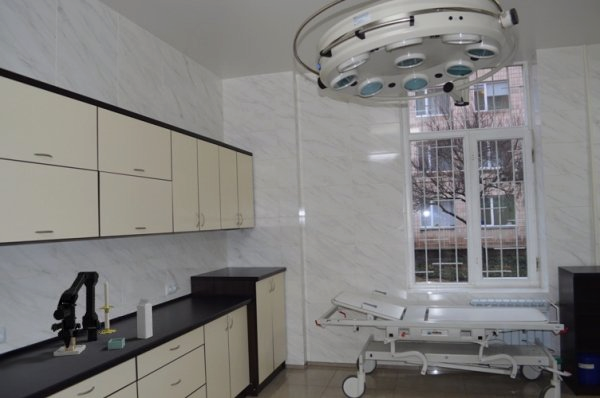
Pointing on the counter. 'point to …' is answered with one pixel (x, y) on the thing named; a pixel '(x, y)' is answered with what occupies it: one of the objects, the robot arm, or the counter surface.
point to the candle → (106, 310)
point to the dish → (62, 351)
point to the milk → (144, 319)
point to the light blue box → (116, 343)
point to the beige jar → (71, 345)
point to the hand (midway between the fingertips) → (69, 346)
